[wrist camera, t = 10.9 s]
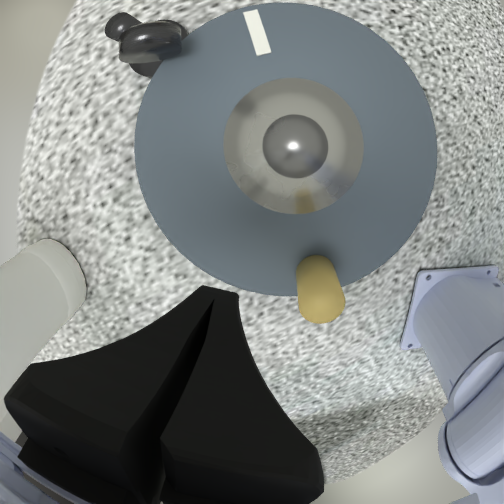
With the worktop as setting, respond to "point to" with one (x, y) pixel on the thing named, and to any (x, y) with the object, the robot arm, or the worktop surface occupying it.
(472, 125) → the worktop surface
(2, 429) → the milk carton
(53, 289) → the bottle
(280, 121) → the cover
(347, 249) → the turntable
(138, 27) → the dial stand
